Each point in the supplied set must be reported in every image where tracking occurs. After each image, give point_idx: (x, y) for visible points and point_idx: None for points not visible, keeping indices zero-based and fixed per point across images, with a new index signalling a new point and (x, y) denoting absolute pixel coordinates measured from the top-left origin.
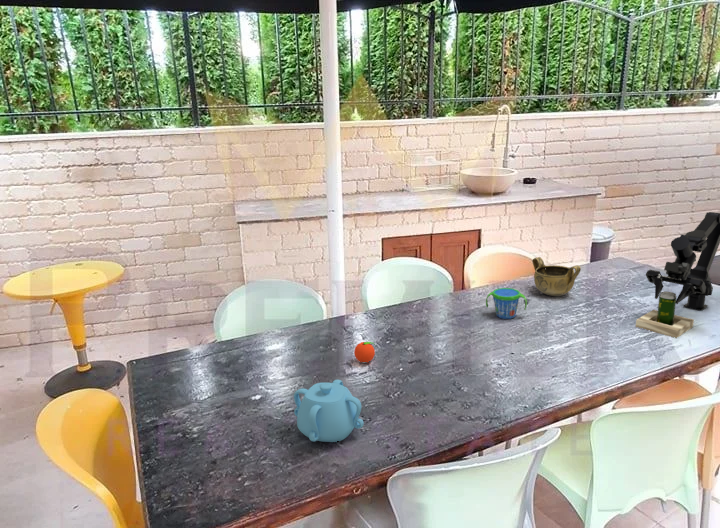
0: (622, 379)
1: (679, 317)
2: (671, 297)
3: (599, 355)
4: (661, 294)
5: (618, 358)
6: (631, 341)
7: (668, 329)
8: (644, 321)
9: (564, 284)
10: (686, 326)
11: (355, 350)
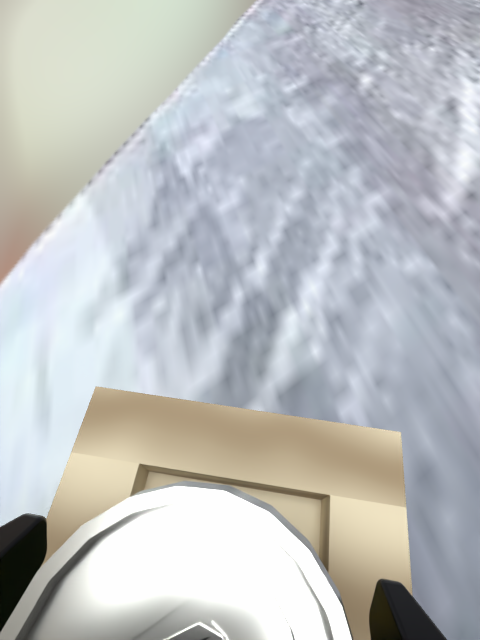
0: (225, 44)
1: None
2: (93, 528)
3: (337, 104)
4: (296, 542)
5: (280, 113)
6: (302, 241)
7: (157, 397)
8: (337, 431)
9: None
10: None
11: None
